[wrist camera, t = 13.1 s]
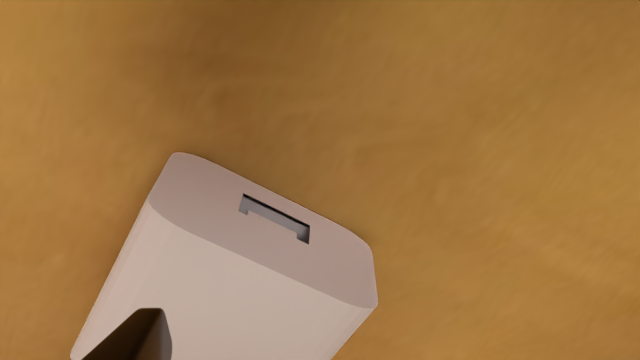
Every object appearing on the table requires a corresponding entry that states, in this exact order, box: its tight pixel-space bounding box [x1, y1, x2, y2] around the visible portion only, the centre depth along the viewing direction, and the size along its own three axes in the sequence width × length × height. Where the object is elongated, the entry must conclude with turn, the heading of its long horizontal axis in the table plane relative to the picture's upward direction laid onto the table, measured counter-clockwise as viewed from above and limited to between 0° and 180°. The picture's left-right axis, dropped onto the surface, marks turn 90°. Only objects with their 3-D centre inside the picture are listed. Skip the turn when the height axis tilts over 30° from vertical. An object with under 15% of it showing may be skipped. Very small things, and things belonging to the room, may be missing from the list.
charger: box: [70, 152, 378, 360], centre depth 23 cm, size 5×9×15 cm
